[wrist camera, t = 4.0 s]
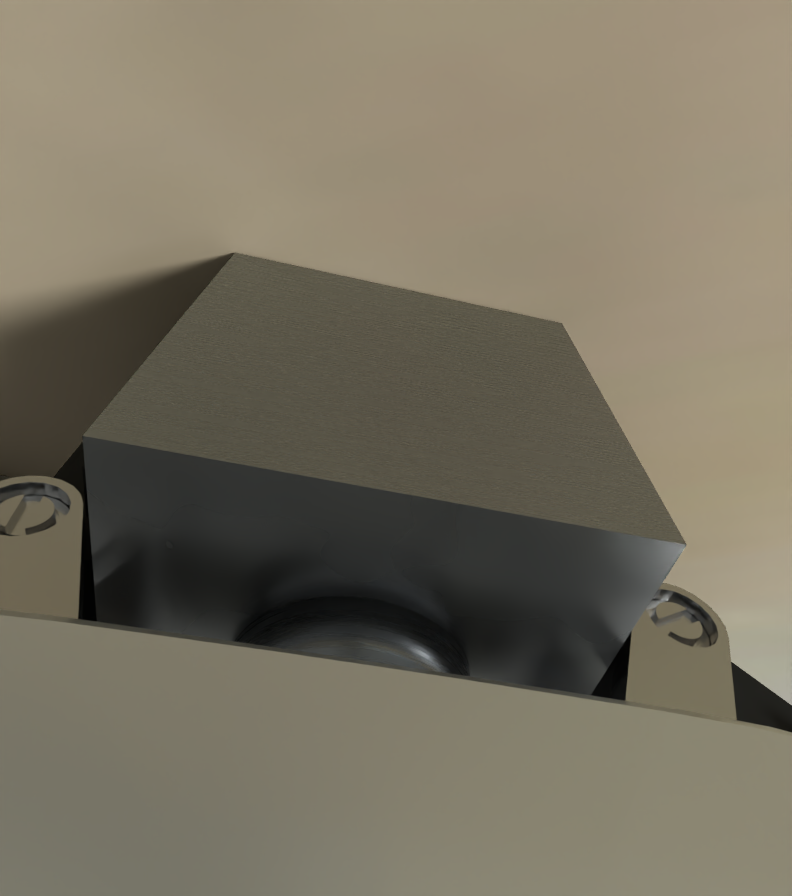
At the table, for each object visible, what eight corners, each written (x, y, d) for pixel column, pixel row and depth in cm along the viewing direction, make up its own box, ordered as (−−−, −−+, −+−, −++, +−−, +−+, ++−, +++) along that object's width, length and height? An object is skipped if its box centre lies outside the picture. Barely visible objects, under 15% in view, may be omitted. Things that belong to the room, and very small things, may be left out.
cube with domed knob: (234, 252, 11) (26, 504, 5) (561, 323, 11) (729, 621, 5) (216, 513, 14) (78, 853, 8) (471, 557, 15) (516, 902, 9)
